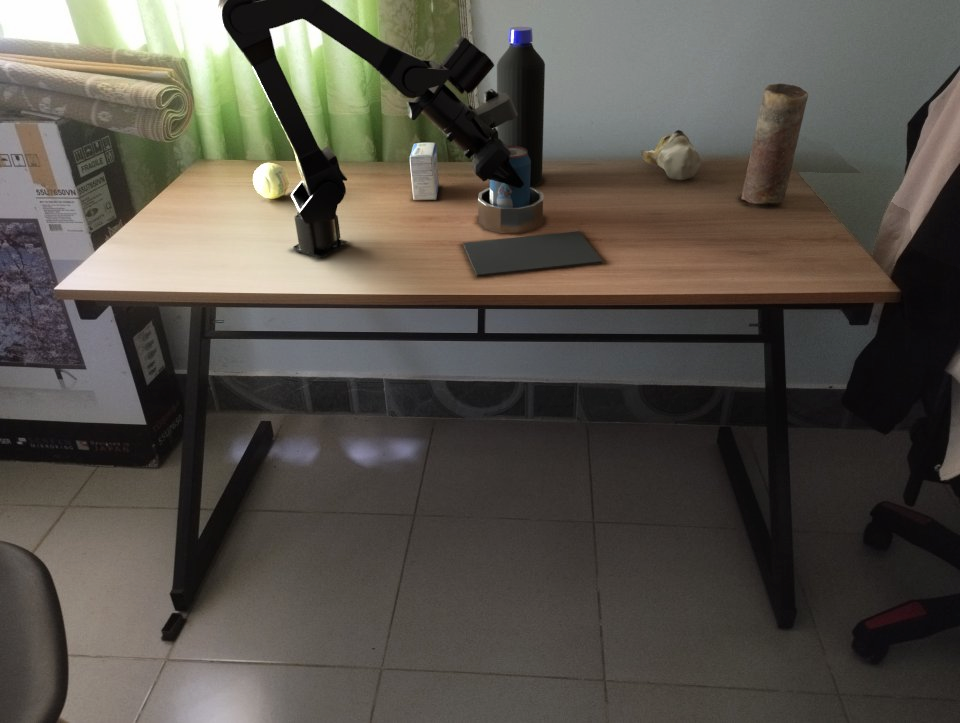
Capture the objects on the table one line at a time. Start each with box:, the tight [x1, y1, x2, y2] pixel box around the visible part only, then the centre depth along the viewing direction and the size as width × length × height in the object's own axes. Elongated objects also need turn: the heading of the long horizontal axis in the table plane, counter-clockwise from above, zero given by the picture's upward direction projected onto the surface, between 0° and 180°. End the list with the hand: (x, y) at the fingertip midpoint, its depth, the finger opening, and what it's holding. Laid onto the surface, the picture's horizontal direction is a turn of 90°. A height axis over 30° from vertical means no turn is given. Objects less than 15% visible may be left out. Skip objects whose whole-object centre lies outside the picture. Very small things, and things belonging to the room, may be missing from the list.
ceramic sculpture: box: [640, 129, 703, 181], centre depth 148 cm, size 11×9×15 cm
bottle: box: [496, 26, 546, 188], centre depth 140 cm, size 9×9×28 cm
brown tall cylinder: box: [740, 83, 809, 206], centre depth 130 cm, size 8×7×20 cm
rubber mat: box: [462, 230, 603, 278], centre depth 119 cm, size 20×12×1 cm, turn 101°
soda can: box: [489, 146, 531, 207], centre depth 127 cm, size 7×7×12 cm
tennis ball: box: [252, 162, 290, 199], centre depth 141 cm, size 6×7×7 cm
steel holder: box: [477, 186, 544, 234], centre depth 130 cm, size 11×11×4 cm
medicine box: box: [409, 142, 440, 201], centre depth 140 cm, size 8×4×9 cm, turn 179°
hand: (517, 178), depth 127 cm, fingers closed on soda can, 7 cm apart
